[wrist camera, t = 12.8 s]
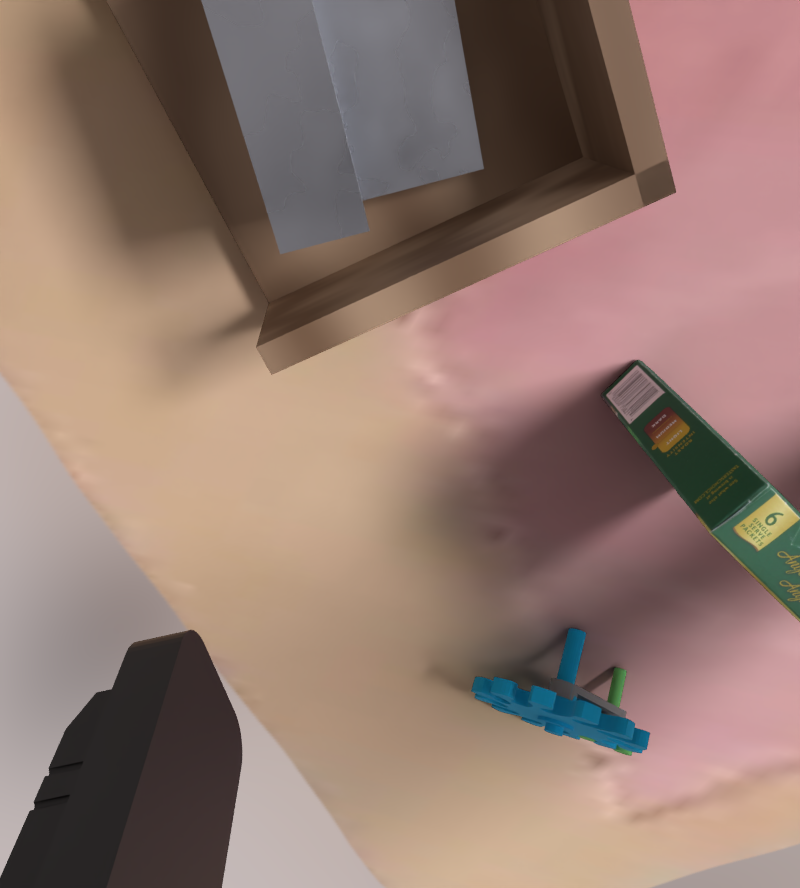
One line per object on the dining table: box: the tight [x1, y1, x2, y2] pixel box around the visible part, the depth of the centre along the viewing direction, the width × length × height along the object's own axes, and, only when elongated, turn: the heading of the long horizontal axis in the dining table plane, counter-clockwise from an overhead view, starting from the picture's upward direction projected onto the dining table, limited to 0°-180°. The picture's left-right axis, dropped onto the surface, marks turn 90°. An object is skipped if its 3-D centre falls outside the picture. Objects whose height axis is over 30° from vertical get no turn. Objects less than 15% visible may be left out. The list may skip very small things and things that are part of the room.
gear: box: [471, 628, 650, 756], centre depth 43 cm, size 11×6×10 cm
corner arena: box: [106, 0, 676, 375], centre depth 27 cm, size 16×16×7 cm
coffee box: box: [601, 360, 800, 622], centre depth 32 cm, size 8×3×13 cm, turn 46°
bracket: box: [201, 0, 484, 254], centre depth 25 cm, size 10×8×8 cm
